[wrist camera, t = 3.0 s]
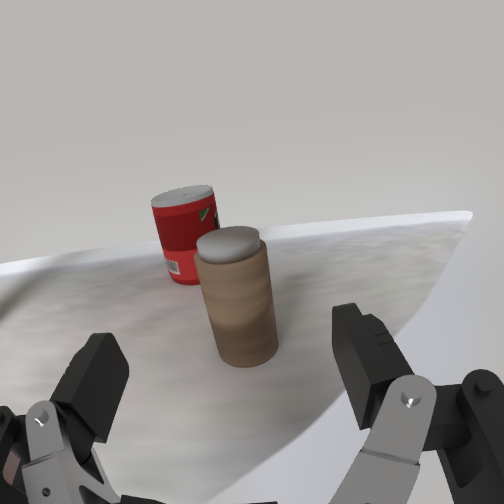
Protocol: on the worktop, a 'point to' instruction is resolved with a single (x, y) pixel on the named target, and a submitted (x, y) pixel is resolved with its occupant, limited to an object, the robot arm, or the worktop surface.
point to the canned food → (184, 227)
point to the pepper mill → (238, 294)
